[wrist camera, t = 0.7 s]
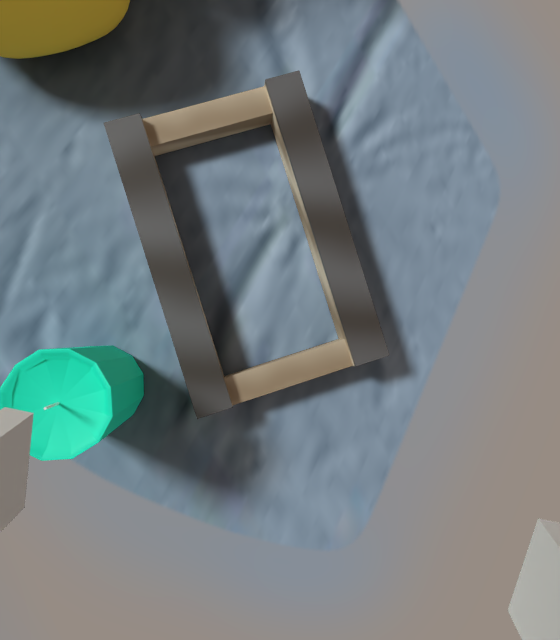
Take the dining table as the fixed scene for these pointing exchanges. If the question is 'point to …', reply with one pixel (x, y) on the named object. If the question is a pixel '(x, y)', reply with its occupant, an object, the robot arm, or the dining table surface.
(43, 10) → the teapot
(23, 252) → the dining table surface
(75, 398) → the candle
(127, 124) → the rectangular wooden frame
